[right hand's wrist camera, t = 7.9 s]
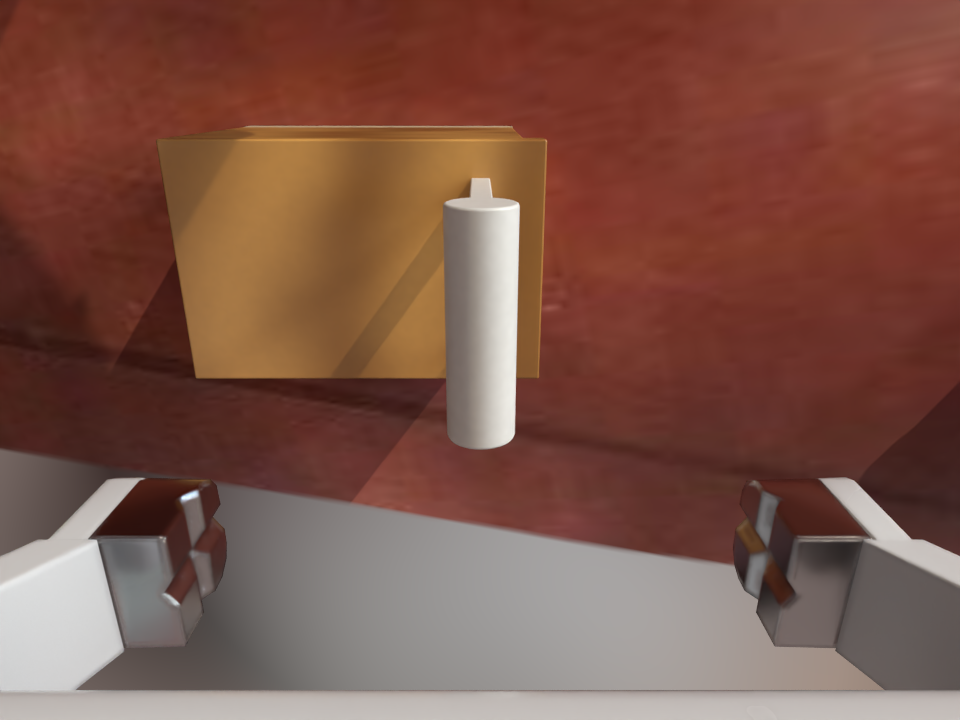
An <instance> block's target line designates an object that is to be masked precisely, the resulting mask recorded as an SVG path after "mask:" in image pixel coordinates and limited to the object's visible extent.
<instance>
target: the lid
mask: <svg viewBox="0 0 960 720" xmlns="http://www.w3.org/2000/svg"><path fill="white" fill-rule="evenodd" d="M156 144H157V150H158V156H159V162H160V168H161V174H162V180H163V186H164V192H165V198H166V204H167V209H168V215H169V221H170V227H171V233H172V239H173V245H174V251H175V257H176V263H177V269H178V275H179V281H180V287H181V293H182V299H183V305H184V311H185V317H186V323H187V329H188V335H189V341H190V347H191V353H192V359H193V365H194V371H195V377H196V378H446V395H447V434H448V437H449V438H450V440H451V441H452V442H454V443H455V444H457V445H459V446H462V447H465V448H470V449H493V448H497V447H500V446H503V445H505V444H507V443H509V442H510V441H511V440H512V438H513V437H514V434H515V398H516V378H538V377H539V356H540V328H541V300H542V271H543V243H544V215H545V187H546V159H547V140H546V139H544V138H162V139H157V140H156Z"/></svg>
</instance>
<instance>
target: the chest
mask: <svg viewBox="0 0 960 720" xmlns="http://www.w3.org/2000/svg"><path fill="white" fill-rule="evenodd" d="M169 138H522V137H521V136H520V135H519V134H518V133H517V132H516V131H515V130H514V129H513V127H512V126H247V127H243V128H235V129H228V130H221V131H213V132H206V133H199V134H191V135H184V136H177V137H169Z"/></svg>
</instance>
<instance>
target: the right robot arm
mask: <svg viewBox="0 0 960 720" xmlns="http://www.w3.org/2000/svg"><path fill="white" fill-rule="evenodd" d="M219 506H220V500H219V495H218V490H217V486H216V484H215V483H214V482H213V481H212V480H211V479H168V478H147V479H145V478H114V479H109V480H106V481H105V482H104V483H103V484H102V485H101V486H100V487H99V488H98V490H96V491H95V492H94V494H93V495H92V496H91V497H90V498H89V499H88V500H87V501H86V502H85V503H84V504H83V505H82V506H81V507H80V508H79V509H78V510H77V511H76V512H75V513H74V514H73V515H72V516H71V517H70V518H69V519H68V520H67V521H66V522H65V523H64V524H63V525H62V526H61V527H60V528H59V529H58V530H57V531H56V532H55V533H54V534H53V535H52V536H51V537H50V538H49V539H48V540H35V541H33V542H31V543H29V544H26V545H24V546H22V547H20V548H18V549H15V550H13V551H11V552H9V553H6V554H4V555H2V556H0V720H960V556H958V555H956V554H954V553H951V552H949V551H947V550H945V549H942V548H940V547H938V546H936V545H934V544H931V543H929V542H927V541H925V540H912V539H911V538H910V537H909V536H908V535H907V534H906V533H905V532H904V531H903V530H902V529H901V528H900V527H899V526H898V525H897V524H896V523H895V522H894V521H893V520H892V519H891V518H890V517H889V516H888V515H887V514H886V513H885V512H884V511H883V510H882V509H881V508H880V507H879V506H878V505H877V504H876V503H875V501H874V500H873V499H872V498H871V497H870V496H869V495H868V494H867V493H866V492H865V491H864V490H863V489H862V488H861V487H860V486H859V485H858V484H857V483H856V482H855V481H854V480H851V479H848V478H846V477H842V478H816V479H778V480H748V481H746V483H745V485H744V487H743V489H742V494H741V499H740V506H741V507H742V509H743V510H744V512H745V514H746V515H747V518H746V519H745V520H744V521H743V522H742V523H741V524H740V525H739V526H738V527H737V528H736V529H735V537H734V544H733V552H734V564H735V568H736V572H737V575H738V578H739V580H740V582H741V584H742V586H743V588H744V590H745V591H746V592H747V593H749V594H750V595H752V596H754V597H755V598H757V599H758V605H757V611H756V613H757V615H758V616H759V618H760V620H761V622H762V624H763V626H764V627H765V629H766V631H767V633H768V635H769V637H770V638H771V640H772V642H773V644H774V646H779V647H815V648H836V652H838V653H839V654H840V655H841V656H843V657H844V658H845V659H846V660H848V661H849V662H850V663H852V664H853V665H854V666H855V667H857V668H858V669H859V670H860V671H862V672H863V673H864V674H866V675H867V676H868V677H869V678H871V679H872V680H873V681H874V682H876V683H877V684H878V685H879V686H881V687H882V688H883V689H884V690H76V689H77V688H78V687H79V686H81V685H82V684H83V683H85V682H86V681H87V680H88V679H90V678H91V677H92V676H93V675H95V674H96V673H97V672H98V671H100V670H101V669H102V668H104V667H105V666H106V665H107V664H109V663H110V662H111V661H113V660H114V659H115V658H116V657H118V656H119V655H120V654H121V653H123V652H124V648H144V647H179V646H186V644H187V642H188V640H189V639H190V637H191V635H192V633H193V631H194V629H195V627H196V626H197V624H198V622H199V620H200V618H201V616H202V615H203V613H204V611H203V605H202V599H203V598H205V597H206V596H208V595H210V594H211V593H213V592H214V591H215V590H216V588H217V586H218V584H219V582H220V580H221V578H222V576H223V571H224V567H225V562H226V551H227V550H226V549H227V542H226V536H225V529H224V528H223V527H222V526H221V525H220V524H219V523H218V522H217V521H216V520H215V519H214V518H213V515H214V514H215V512H216V510H217V509H218V507H219Z"/></svg>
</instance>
